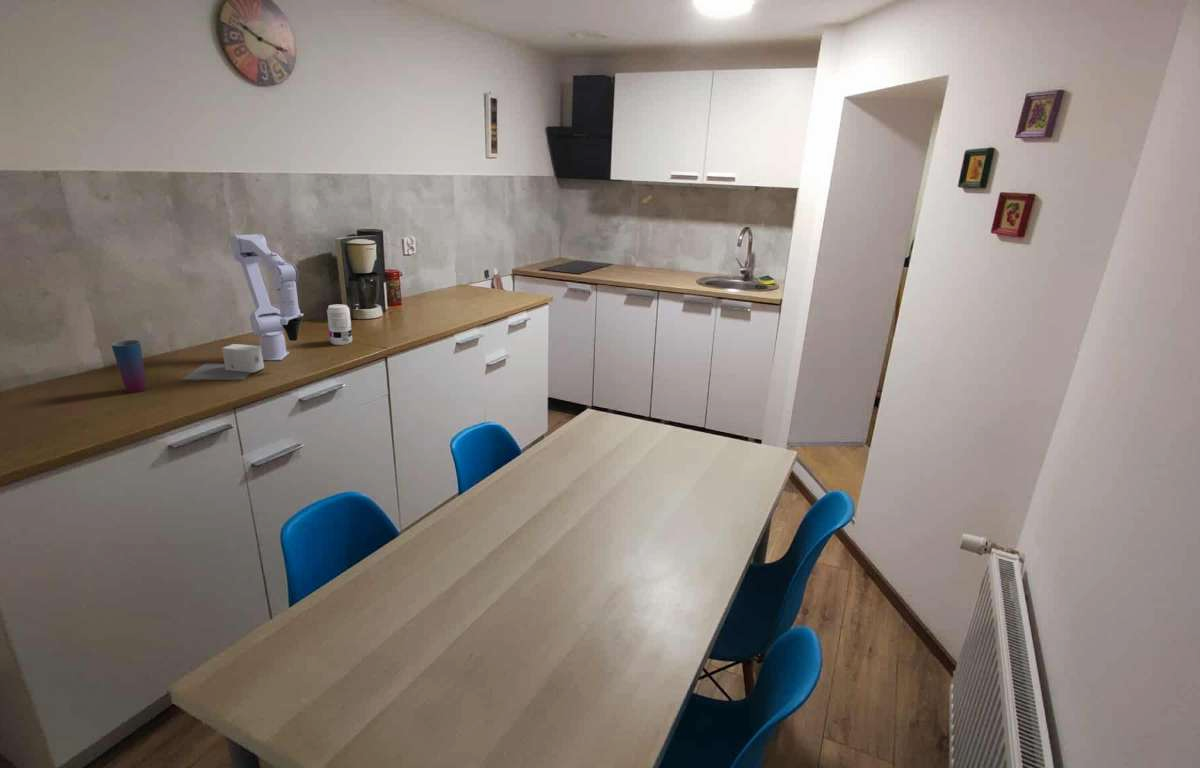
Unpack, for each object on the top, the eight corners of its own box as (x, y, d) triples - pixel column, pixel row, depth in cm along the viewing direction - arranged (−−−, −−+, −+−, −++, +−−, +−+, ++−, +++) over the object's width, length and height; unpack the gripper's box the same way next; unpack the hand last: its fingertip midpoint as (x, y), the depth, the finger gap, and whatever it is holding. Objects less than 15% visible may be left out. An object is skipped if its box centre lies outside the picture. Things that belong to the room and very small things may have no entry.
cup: (128, 395, 176) (117, 347, 171) (118, 390, 179) (106, 343, 174) (154, 389, 181) (144, 342, 176) (144, 384, 185) (133, 338, 180)
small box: (261, 346, 200) (233, 342, 201) (249, 350, 195) (220, 347, 196) (264, 368, 203) (236, 365, 204) (253, 373, 197) (224, 370, 199)
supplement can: (325, 343, 235) (321, 306, 230) (341, 338, 242) (338, 302, 237) (341, 346, 232) (337, 309, 227) (357, 341, 240) (353, 305, 234)
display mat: (204, 365, 204) (204, 363, 204) (261, 365, 207) (260, 363, 207) (181, 380, 189) (181, 379, 189) (242, 380, 192) (242, 378, 192)
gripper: (294, 305, 191) (299, 346, 196) (307, 296, 205) (312, 334, 209) (270, 305, 190) (276, 346, 195) (285, 296, 204) (290, 334, 208)
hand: (293, 340), depth 202 cm, fingers closed
